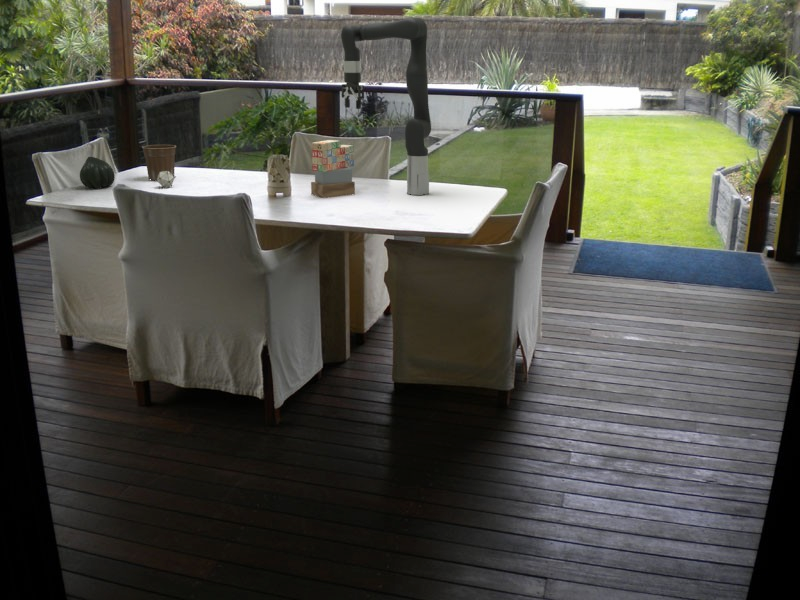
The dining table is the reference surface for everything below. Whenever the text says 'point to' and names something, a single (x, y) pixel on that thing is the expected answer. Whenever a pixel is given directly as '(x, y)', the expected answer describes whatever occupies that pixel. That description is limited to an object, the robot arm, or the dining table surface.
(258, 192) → the dining table surface
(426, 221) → the dining table surface
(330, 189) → the tower base block
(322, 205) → the dining table surface
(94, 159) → the squash
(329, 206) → the dining table surface
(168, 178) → the game die
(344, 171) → the tower top block
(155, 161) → the plant pot
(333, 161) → the stack of blocks
